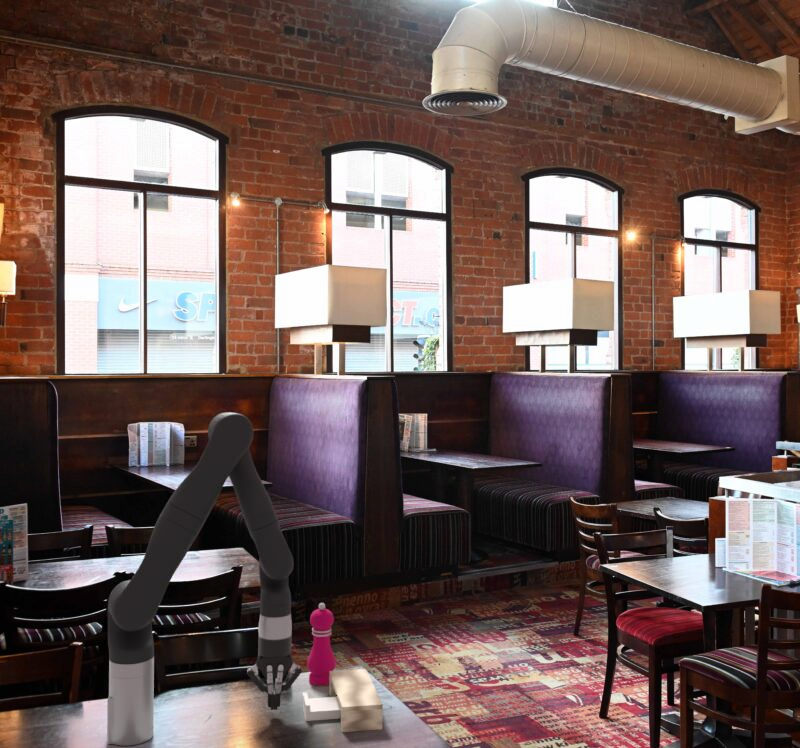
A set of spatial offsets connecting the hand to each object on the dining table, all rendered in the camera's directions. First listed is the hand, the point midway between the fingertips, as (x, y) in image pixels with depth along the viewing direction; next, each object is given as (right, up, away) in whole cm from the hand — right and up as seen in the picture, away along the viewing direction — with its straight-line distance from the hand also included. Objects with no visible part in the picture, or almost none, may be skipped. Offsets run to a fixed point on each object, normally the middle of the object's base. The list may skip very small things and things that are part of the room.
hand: (273, 708), depth 200 cm
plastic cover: (+15, -2, +3) cm, 15 cm away
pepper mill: (+9, -2, +22) cm, 24 cm away
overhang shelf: (+18, -2, +4) cm, 19 cm away
